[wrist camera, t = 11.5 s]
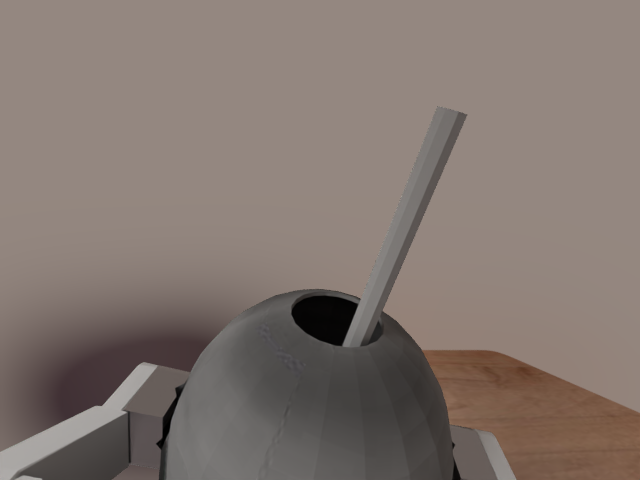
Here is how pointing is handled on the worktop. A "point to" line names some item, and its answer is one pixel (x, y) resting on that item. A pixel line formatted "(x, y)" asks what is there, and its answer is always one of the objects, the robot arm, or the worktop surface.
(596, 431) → the worktop surface
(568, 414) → the worktop surface
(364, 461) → the beverage cup
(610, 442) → the worktop surface
